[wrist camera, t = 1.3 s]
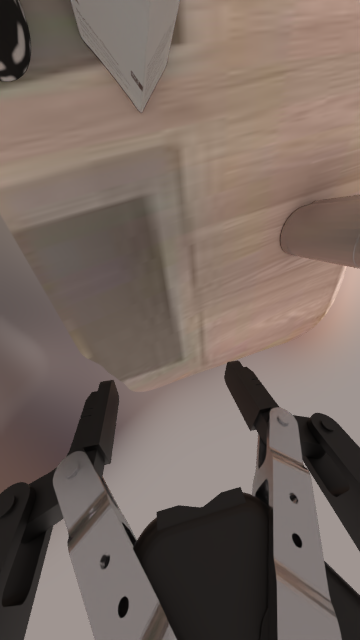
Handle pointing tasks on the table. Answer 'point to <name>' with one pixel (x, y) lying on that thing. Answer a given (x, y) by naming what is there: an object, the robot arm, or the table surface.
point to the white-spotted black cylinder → (13, 41)
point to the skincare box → (129, 40)
